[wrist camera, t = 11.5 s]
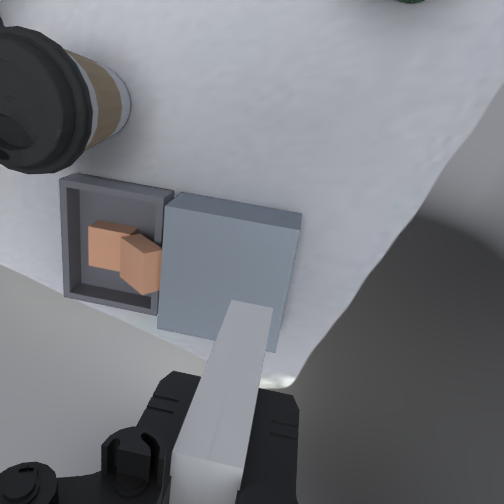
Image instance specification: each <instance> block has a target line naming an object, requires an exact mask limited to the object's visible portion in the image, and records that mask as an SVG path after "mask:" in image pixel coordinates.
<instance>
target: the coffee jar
mask: <svg viewBox="0 0 504 504" xmlns="http://www.w3.org/2000/svg"><path fill="white" fill-rule="evenodd" d="M400 1H403V2H407V3H417V2H421V1H424V0H400Z"/></svg>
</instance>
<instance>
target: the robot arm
mask: <svg viewBox="0 0 504 504" xmlns="http://www.w3.org/2000/svg"><path fill="white" fill-rule="evenodd" d="M2 27H3V24H2V21H1V18H0V28H2ZM272 313H273V308H270V307H265V306H260V305H255V304H250V303H245V302H240V301H235V300H231V303H230V305H229V308H228V310H227V313H226V315H225V318H224V321H223V323H222V326H221V328H220V331H219V333H218V336H217V339H216V341H215V344H214V346H213V349H212V351H211V354H210V356H209V359H208V362H207V365H206V367H205V369H204V372H203V374H202V377H200V376H195V375H191V374H186V373H181V372H177V371H172V372H171V373H170V374H169V375H167V376H166V377H165V378H163V379H162V380H161V381H160V382H159V384H158V386H157V388H156V390H155V392H154V394H153V397H152V398H151V400H150V401H149V403H148V405H147V408H146V409H145V411H144V413H143V414H142V416H141V418H140V420H139V422H138V424H137V426H136V427H129V428H125V429H121V430H119V431H117V432H115V433H114V434H112V435H110V436H109V437H108V438H107V439H106V441H105V442H104V443H103V444H102V446H101V449H102V450H101V457H102V458H101V471H99V472H96V473H94V474H90V475H84V476H75V477H63V478H56V474H55V472H54V471H53V470H52V469H51V468H50V467H49V466H48V465H46V464H42V463H39V462H27V463H21V464H18V465H15V466H12V467H10V468H8V469H6V470H5V471H3V472H2V473H0V504H298V502H297V499H296V473H297V450H298V449H297V448H298V426H299V408H298V406H297V404H296V402H295V400H294V397H293V395H289V394H284V393H280V392H275V391H270V390H265V389H261V388H259V383H260V378H261V372H262V367H263V362H264V356H265V351H266V345H267V340H268V334H269V329H270V324H271V318H272Z"/></svg>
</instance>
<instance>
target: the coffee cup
mask: <svg viewBox="0 0 504 504" xmlns="http://www.w3.org/2000/svg"><path fill="white" fill-rule="evenodd" d="M130 109H131V101H130V95H129V92H128V90H127V88H126V86H125V83H124V82H123V81H122V80H121V79H120V77H119V76H118V75H117V74H116V73H115V72H114V71H112V70H110V69H109V68H107V67H106V66H104V65H102V64H99V63H97V62H94V61H92V60H89V59H87V58H85V57H82V56H80V55H77V54H75V53H72V52H70V51H67V50H65V49H63V48H62V47H61V46H60V45H59V44H57V43H56V42H54V41H53V40H51V39H50V38H48V37H47V36H45V35H44V34H42V33H41V32H38V31H34V30H31V29H27V28H23V27H19V26H14V27H2V28H0V164H2V165H3V166H5V167H7V168H8V169H11V170H15V171H19V172H22V173H26V174H47V173H56V172H58V171H60V170H62V169H64V168H67V167H69V166H71V165H72V164H73V163H74V162H75V161H76V160H77V159H78V158H79V156H80V155H81V154H82V153H83V152H84V151H85V150H87V149H89V148H91V147H93V146H94V145H96V144H98V143H100V142H102V141H103V140H105V139H107V138H109V137H111V136H112V135H114V134H116V133H118V132H119V131H120V130H121V128H122V127H123V126H124V125H125V124H126V122H127V120H128V117H129V115H130Z"/></svg>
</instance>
